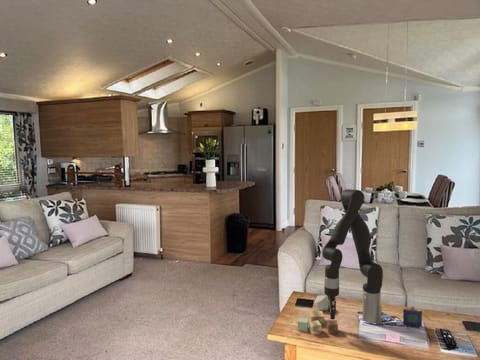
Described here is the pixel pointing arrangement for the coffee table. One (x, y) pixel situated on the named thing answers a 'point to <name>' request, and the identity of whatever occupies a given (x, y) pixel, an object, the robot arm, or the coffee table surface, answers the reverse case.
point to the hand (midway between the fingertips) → (331, 315)
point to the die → (321, 303)
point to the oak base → (317, 316)
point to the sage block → (303, 324)
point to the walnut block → (332, 326)
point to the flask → (412, 317)
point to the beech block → (315, 327)
